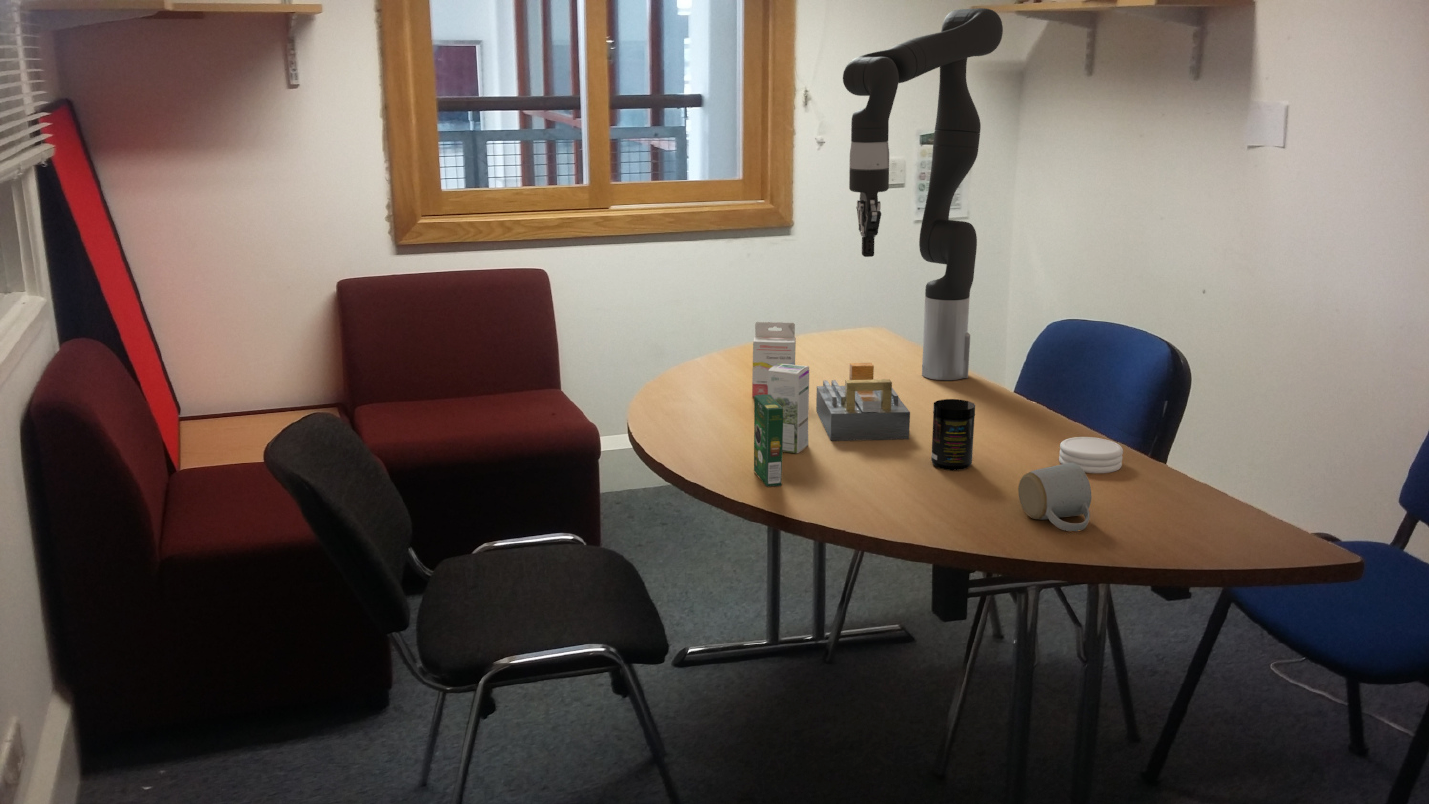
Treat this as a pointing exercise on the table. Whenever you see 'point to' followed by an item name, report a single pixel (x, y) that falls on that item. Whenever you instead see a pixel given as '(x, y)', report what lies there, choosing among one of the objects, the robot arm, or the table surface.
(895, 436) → the heatsink block
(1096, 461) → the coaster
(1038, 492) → the ceramic mug
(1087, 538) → the table surface
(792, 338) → the ink cartridge box
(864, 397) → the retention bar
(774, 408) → the coffee box
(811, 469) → the table surface
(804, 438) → the syrup box
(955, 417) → the supplement container
